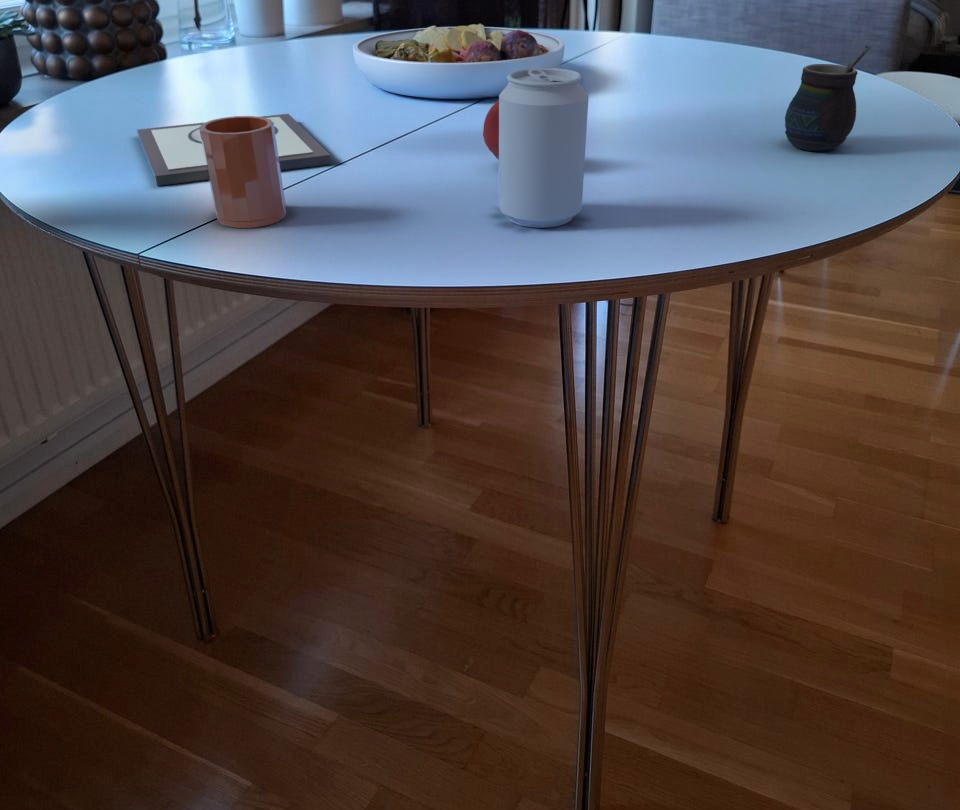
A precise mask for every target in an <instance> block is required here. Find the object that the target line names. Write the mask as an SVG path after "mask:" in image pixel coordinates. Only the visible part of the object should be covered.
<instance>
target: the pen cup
mask: <svg viewBox="0 0 960 810" xmlns="http://www.w3.org/2000/svg"><path fill="white" fill-rule="evenodd" d="M202 123H203V124H202V125H201V126H200V127H199V130H200V135H201V141H202V146H203V151H204V156H205V161H206V166H207V172H208V177H209V180H208V181H209V187H210V191H211V197H212V198H211V199H212V202H213V207H214V213H215V216H216V220H217V222H218V223H219V224H220V225H222V226H224V227H229V228H236V229H253V228H261V227H266V226H270V225H273V224H276V223H279V222H280V221H282V220H283V219H285V217H286V215H287V211H286V207H287V205H286V198H285V192H284V185H283V178H282V177H283V176H282V171H281V170H280V163H279V156H278V149H277V142H276V135H275V128H274V123H273V122H272V120H270V119H267V118H264V117H262V116H255V115H238V116H237V115H235V116H226V117H220V118H213V119H211V120H208V121H205V123H204V122H202Z"/></svg>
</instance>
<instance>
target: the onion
mask: <svg viewBox="0 0 960 810" xmlns="http://www.w3.org/2000/svg"><path fill="white" fill-rule="evenodd" d="M482 129H483V130H482V136H483V141H484V144H485V146H486V148H487V149H488V151H489V152H491V153H492V154H493V156H494V157H495V158H496V159H497V160H498V161H499V99H498V100H497V101H496V102H494V103H493V104H492V106H491V107H490V108H489V110H488V112H487V113H486V115H485V118H484V122H483V128H482Z"/></svg>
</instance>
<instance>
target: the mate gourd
mask: <svg viewBox="0 0 960 810" xmlns="http://www.w3.org/2000/svg"><path fill="white" fill-rule="evenodd" d="M871 48H872V47H871V46H868V45H865V47H864V48H863V49H862V51H860V53H858V54H857V56H856V57H855V58H854V59H853V60H852V61H851V62H850V63H848V65H843V64H835V63H834V64H833V63H814V64H808V65H806V66H804V67H803V68H802V72H801V76H800V81H801V82H800V85H799V88H798V90H797V91H796V93H795V95H794V96H793V97H792V99H791V100H790V102H789V104H788V107H787V109H786V112H785V114H784V115H785V116H784V128H785V131H784V133H785V136H786V139H787V140H788V141H789V143H790V144H791V145H792V147H793V148H796V149H799V150H801V151H809V152H829V151H833V150H834V149H836V148H838V147H839V146H842V144H843V143H844V142H846V139H847V137H848V136H849V135H850V133H852V130H853V128H854V125H855V123H856V119H857V118H856V117H857V100H856V93H855V91H854V90H855V89H854V87H855V84H856V81H857V75H858V70H857V69H855V68H854V67H855V66H856V65H857V64H858V63H859V62H860V61H861V59H863V57H864V56H865V55H866V54H867V53H868V51H870V50H871Z"/></svg>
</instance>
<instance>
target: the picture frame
mask: <svg viewBox="0 0 960 810" xmlns="http://www.w3.org/2000/svg"><path fill="white" fill-rule="evenodd" d="M261 117H264V118H267V119H270V120H272V122H273V123H274V128H275V135H276V142H277V149H278V156H279V163H280V170H281V172H282V171H289V170H296V169H297V170H298V169H305V168H312V167H321V166H328V165H329V166H331V165H332V156H331V154H330V153H329V152H328V151H327V150H326V149H325V148H324V147H323V146H322V145H321V144H320V143H319V142H318V141H317V140H316V139H315V138H314V137H313V136H312V135H311V134H310V133H309V132H308V131H307V130H306V129H305V128H304V127H302V125H301V124H299V122H297V121H296V120H295V119H294V118H293V116H292V115H290V114H289V113H282V114H273V115H271V114H270V115H263V116H261ZM205 122H206V121H205ZM205 122H195V123H186V124H178V125H167V126H158V127H148V128H140V129H139V128H138V129H136V133H137V137H138V140H139V142H140V145H141V146H142V147H141V148H142V150H143V153H144V155H145V158H146V160H147V163H148V166H149V168H150V171H151V174H152V176H153V178H154V181H155V183H156V186H157V187H161V186H171V185H178V184H183V183H184V184H185V183H193V182H194V183H195V182H201V181H202V182H203V181H209V177H208V172H207V166H206V161H205V156H204V151H203V146H202V141H201V135H200V130H199V127H200V126H201V125H202V124H203V123H205Z"/></svg>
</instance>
